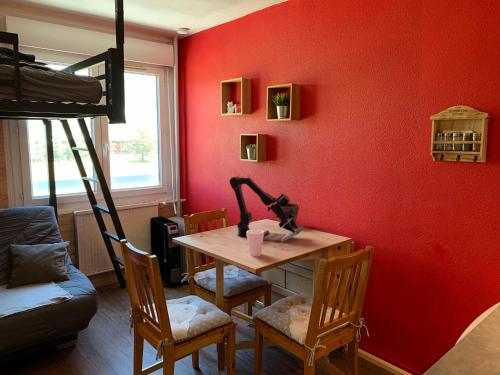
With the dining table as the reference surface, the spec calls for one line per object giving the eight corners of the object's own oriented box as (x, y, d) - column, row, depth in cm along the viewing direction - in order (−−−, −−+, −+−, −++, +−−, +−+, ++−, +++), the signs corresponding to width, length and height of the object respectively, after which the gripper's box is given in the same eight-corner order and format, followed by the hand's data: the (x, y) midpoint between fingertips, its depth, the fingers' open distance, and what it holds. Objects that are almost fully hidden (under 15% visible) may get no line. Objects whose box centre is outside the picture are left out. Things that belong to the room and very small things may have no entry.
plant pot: (298, 229, 263) (298, 207, 261) (276, 228, 266) (276, 206, 264) (299, 225, 277) (299, 203, 275) (279, 224, 280) (279, 203, 278)
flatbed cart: (259, 240, 235) (259, 236, 235) (266, 234, 250) (266, 230, 250) (279, 242, 231) (279, 238, 231) (286, 236, 246) (286, 231, 245)
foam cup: (254, 251, 214) (254, 228, 213) (267, 254, 209) (267, 231, 207) (243, 255, 207) (243, 232, 205) (256, 258, 201) (256, 234, 200)
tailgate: (280, 240, 231) (297, 231, 226) (286, 233, 246) (302, 225, 241) (281, 242, 231) (298, 233, 226) (287, 236, 245) (304, 227, 241)
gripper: (284, 206, 226) (302, 225, 223) (291, 201, 243) (308, 219, 241) (271, 218, 229) (288, 237, 227) (279, 212, 247) (295, 230, 245)
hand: (295, 230), depth 235 cm, fingers open, 9 cm apart
